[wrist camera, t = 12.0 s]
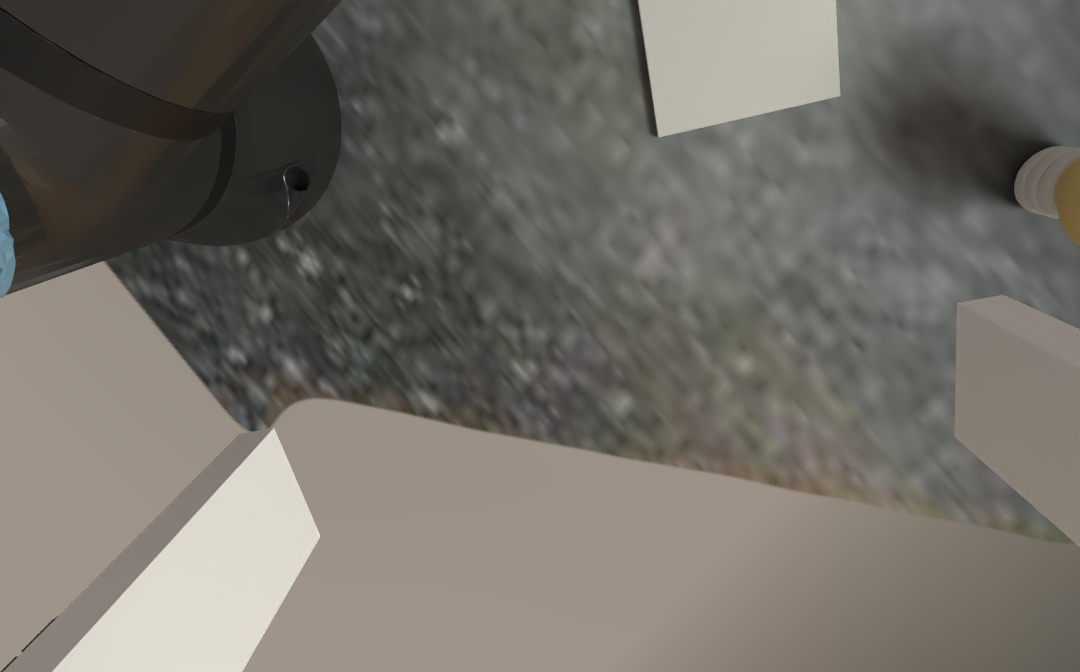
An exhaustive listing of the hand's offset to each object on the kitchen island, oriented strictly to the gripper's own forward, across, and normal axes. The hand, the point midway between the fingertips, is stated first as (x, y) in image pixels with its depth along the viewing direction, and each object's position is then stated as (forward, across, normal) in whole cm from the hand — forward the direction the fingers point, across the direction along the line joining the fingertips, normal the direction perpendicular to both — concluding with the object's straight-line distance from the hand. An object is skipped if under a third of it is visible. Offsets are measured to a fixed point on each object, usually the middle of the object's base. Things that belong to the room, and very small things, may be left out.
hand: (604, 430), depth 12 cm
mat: (+27, +10, +8) cm, 30 cm away
